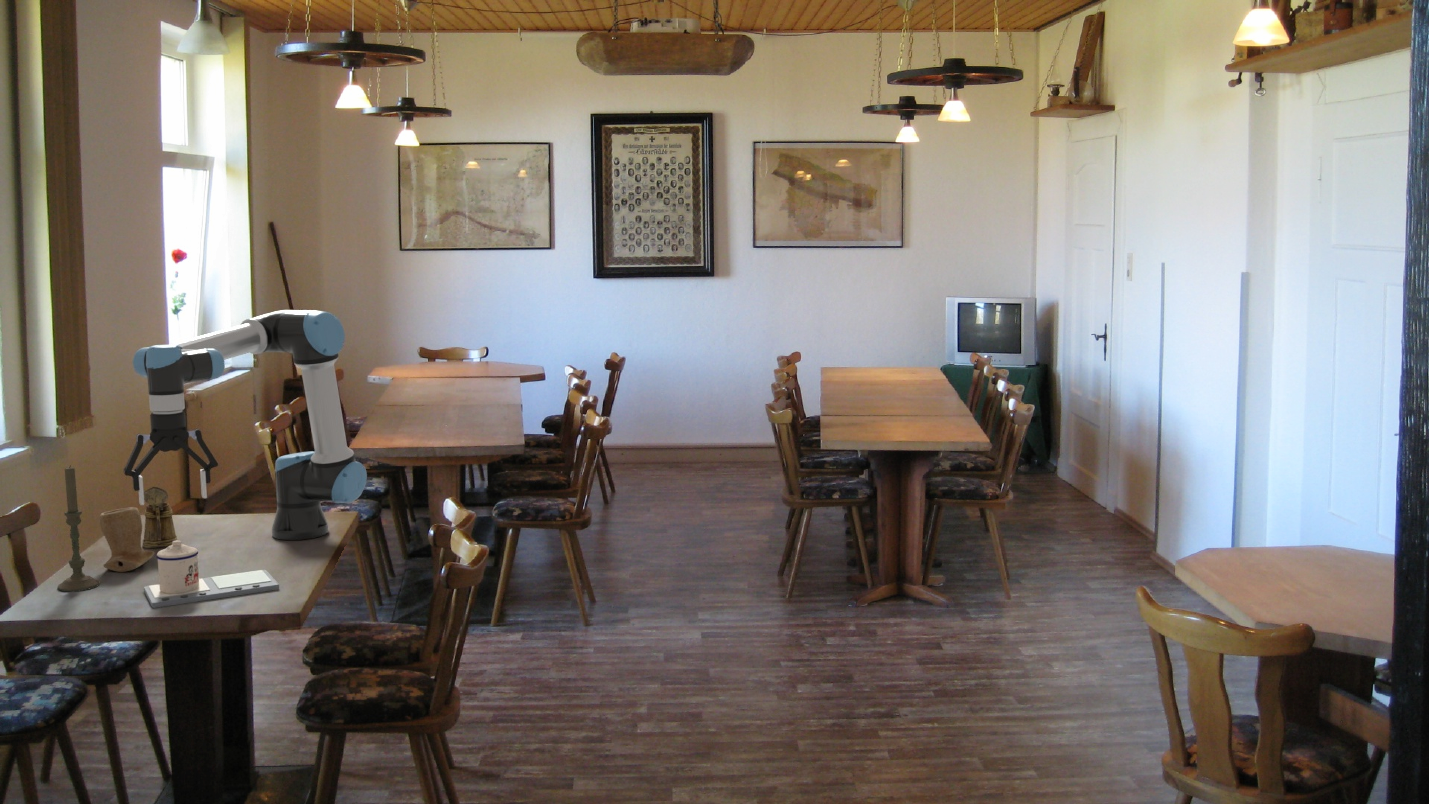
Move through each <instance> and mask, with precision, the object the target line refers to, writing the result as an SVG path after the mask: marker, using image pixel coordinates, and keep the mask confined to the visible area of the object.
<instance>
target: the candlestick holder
mask: <svg viewBox="0 0 1429 804" xmlns="http://www.w3.org/2000/svg"><path fill="white" fill-rule="evenodd" d="M64 478H65V490H66V504H67V505H66V506H67V510H66V511H65V512H63V515H64V516H65V517H66V519H65V523H66V525H68V526H70V530H69V531H70V533H69V538H70V539H71V549H72V553H73V554H72V557H71V558H70V559H69V560H68V564H69V567H70V569H72V574H71V575H70V577H67V578H65V579H64V580H63V581H62V582H61V583H59V584H58V585H57V590H58V589H59V591H60V590H62V591H61V592H65V591H74V592H82V591H81V590H83V591H86V590H85V589H88V590H90V589H89V588H92V589H93V588H94V589H95V588H97V587H98V586H99V585H100V580H99V579H95V578H94V577H93V576H91V575H86V574H85V573H84V572H83V567H85V562H86V560H85V558H83V557H82V556H81V553H80V543H79V542H80V531H79V528H78V527H79V525H80V524H81V522H82V518H81V517H80V516H81V515H82V513H83V511H82V510H80V509H79V508H78V507H79V505H78V493H77V481H76V480H77V479H76V468H75V467H74V466H73V467H72V464H70V465H69V466H68V467H66V468H64ZM97 585H98V586H97ZM79 590H80V591H79Z"/></svg>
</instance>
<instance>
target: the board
mask: <svg viewBox="0 0 1429 804" xmlns="http://www.w3.org/2000/svg"><path fill="white" fill-rule="evenodd" d="M278 590H280V584H279V582H278V581H276V579H275V578H274V577H273V576H272V575H271V574H270V573H269V572H268V571H267V570H266V569H257V570H252V571H251V570H250V571H246V572H244V571H243V572H237V573H230V574H223V575H216V576H209V577H203V578H200V577H199V587H198V588H197V589H195V590H193V591H190V592H186V593H179V594H167V593H163V592H161V591H160V586H159V584H151V585H146V586H143V592H144V595H145V596H146V598H147V600H148V602H149V605H150V606H151V608H153V609H157V608H162V607H171V606H176V605H182V604H189V603H196V602H197V603H198V602H204V601H209V600H216V599H222V598H228V597H229V598H230V597H235V596H243V595H244V596H245V595H249V594H256V593H257V594H258V593H262V592H270V591H278Z"/></svg>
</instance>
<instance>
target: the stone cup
mask: <svg viewBox="0 0 1429 804" xmlns="http://www.w3.org/2000/svg"><path fill="white" fill-rule="evenodd" d="M141 516H142V515H141V512H140V510H139V508H138V507H135V506H130V507H125V508H118V509H113V510H108V511H104V512H102V513H100V515H99V524H100V529H101V532H102V534H103V536H104V538H105V539H106V542H107V544H108V547H109V549H110V551H111V556H110V557H109V559H108V560H107V561H106V562H104V564H103V567H104V568H105V569H107V570H110V571H114V572H117V573H119V572H120V573H121V572H122V573H125V572H128V571H132V570H135V569H137V568H139V567H142V565H144V564H145V563H147V562H149V561H150V560H151V559H152V558H153V557H154V556H155V551H153V550H146V549H145V550H143V547H142V545H141V543H142V541H141V540H142V532H143V523H142V518H141Z"/></svg>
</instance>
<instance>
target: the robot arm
mask: <svg viewBox="0 0 1429 804" xmlns="http://www.w3.org/2000/svg"><path fill="white" fill-rule="evenodd" d="M345 340H346V335H345V329H344V326H343V323H342V322H341V321H340V319H339V318H338V317H337V316H335V315H334V314H333V313H331V312H328V311H322V310H316V309H313V310H311V309H309V310H307V309H303V310H301V309H300V310H299V309H282V310H281V309H280V310H275V311H271V312H267V313H264V314H260V315H258V316H254V317H250V318H247V319H245V320H243V321H242V322H241V323H240V324H239V325H236V326H233V327H227V328H225V329H224V328H223V329H221V330H217V331H213V332H210V333H206V334H201V335H199V336H196V337H191V338H189V339H184V340H180V341H178V342H173V343H170V344H156V345H150V346H148V347H147V346H146V347H141V348H139V349H137V351H136V352H135V353H134V356H133V359H132V366H133V369H134V371H135V373H136V374H137V375H138V376H140V377H141V378H147V388H148V399H149V401H148V402H149V411H150V412H151V413H150V414H149V418H150V433H149V434H142V433H137V434H136V438H135V439H136V440H135V445H134V447H133V449H132V450H131V451H132V452H131V453H130V455H129V458H128V460H127V462H126V464H125V466H124V469H123V473H124V475H125V476H127V477H132V488H133V490H134V491H135V492H136V491H137V492H138V499H139V500H138V503H139V505H140V506H144V505H145V500H144V492H145V491H144V481H143V480H144V477H143V476H142V475H141V474H142V472H143V471H144V470H145V469H146V467H147V466H148V465H149V464H150V463H151V461H152V460H153V459H154V458H155V456H156V455H157V454H159V452H160V451H161V452H164V453H165V452H169V451H173V452H177V451H179V450H181V449H182V450H183V451H184V452H186V453H187V454H188V455H189V456H190V457H191V458H192V459H193V460H194V461H195V462H197V463H198V464H199V465H200V466H201V467H202V468H203V469H199V473H200V474H199V476H200V491H201V497H202V499H207V498H208V495H207V494H208V493H207V484H211V469H213V468H217V467H218V466H219V465H218V464H219V463H218V462H217V460H216V458H215V456H214V455H213V454H212V452H211V450H210V449H209V447H208V446H207V444H206V442H205V440H204V439H203V436H202V435H203V434H202V431H201V430H200V429H199V428H195V429H193V430H189V431H188V430H187V422H186V421H187V419H186V412H185V411H184V409H186V407H185V406H186V405H185V404H186V403H185V394H184V393H185V392H184V391H185V389H184V388H185V387H184V386H185V385H184V384H189V383H196V382H203V381H211V380H214V379H219V377H221V376H222V375H223V373H224V371H225V365H226V363H225V361H227V360H229V359H232V358H235V357H239V356H242V355H246V354H249V353H250V354H252V355H259V354H262V353H263V354H264V353H285V354H286V353H287V354H292V359H293V360H292V361H293V364H294V365H296V367H298V368H299V369H300V370H301V371H300V372H301V377H302V383H303V388H304V393H305V401H306V406H307V412H308V417H309V424H310V429H311V436H312V442H313V448H314V451H313V450H312V451H302V452H296V453H290V454H285V455H282V456H279V457H277V459H276V460H275V465H274V466H275V468H274V469H275V470H274V477H275V480H274V481H275V490H276V491H275V493H276V504H277V505H276V507H277V508H276V511H275V512H276V513H275V516H274V520H273V523H272V527H271V535H272V538H274V539H277V540H284V541H285V540H286V541H299V540H309V539H314V538H319V537H322V536H325V535H327V534H328V533H329V523H328V521H327V518H326V516H325V513H324V511H323V508H322V506H321V501H322V502H329V503H330V502H331V503H335V504H350V503H354V501H356V500H357V499H358V498H360V496H361V495H362V494H363V491H364V489H365V488H366V484H367V480H368V479H367V476H368V474H367V470H366V466H365V465H363V464H362V463H361V462H360V461H356V458H355V452H354V450H353V449H351V448H350V447H348V444H347V437H346V432H345V425H344V419H343V417H344V416H343V413H342V408H341V407H342V406H341V401H340V399H341V398H340V393H339V389H338V388H339V387H338V382H337V376H336V369H335V363H336V362H337V361H338V360H339V358H340V357H339V353H340V352H341V351H342V350H343V348H344V343H345ZM189 437H191V438H192V439H193V440H195V441H196V442H197V444H198V446H199V447H200V449H201V450H202V452H203V453H204V455H205V457H206V458H207V460H208V462H207V463H206V461H205V460H203V458H201V456H199V455H198V454H197V453H196V452H195V451H194V450H193V449H192V448H190V447H189V446H188V444H187V443H186V441H187V440H188V439H189ZM148 440H150V441H151V442H152V444H153V445H152V446H151V447H150V449H149V450H148V452H147V453H146V454H145V456H143V458H142V460H141V461H140V462H139V463H138V464H137V466H136V467H135V468H134V466H135V464H136V463H137V459H138V458H139V456H140V454H141V452H142V450H143V447H144V445H146V444H147V442H148ZM326 533H327V534H326Z"/></svg>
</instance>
